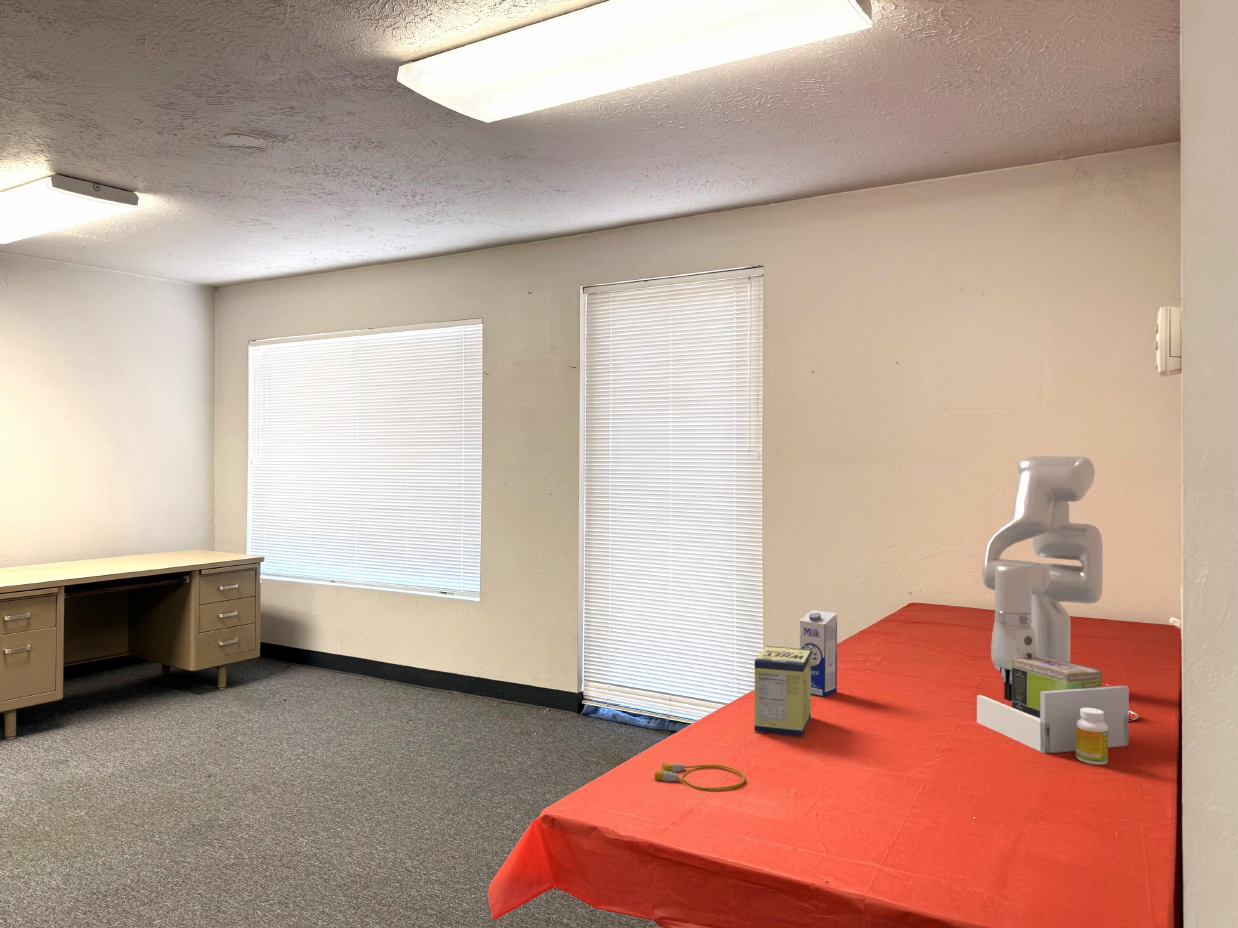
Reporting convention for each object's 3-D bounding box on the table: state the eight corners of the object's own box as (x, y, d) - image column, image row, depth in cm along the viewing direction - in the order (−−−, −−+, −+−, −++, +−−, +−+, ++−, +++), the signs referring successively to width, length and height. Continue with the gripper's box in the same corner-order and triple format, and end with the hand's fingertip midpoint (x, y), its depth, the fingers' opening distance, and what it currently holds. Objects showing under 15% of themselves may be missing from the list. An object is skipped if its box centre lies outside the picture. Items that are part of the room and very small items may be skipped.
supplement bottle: (1107, 767, 156) (1107, 716, 156) (1075, 761, 159) (1075, 711, 159) (1108, 758, 161) (1108, 709, 161) (1076, 753, 164) (1077, 704, 164)
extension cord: (680, 761, 159) (680, 751, 159) (755, 778, 151) (755, 768, 151) (647, 781, 149) (647, 770, 149) (725, 801, 140) (726, 789, 140)
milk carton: (837, 691, 207) (837, 612, 207) (824, 697, 202) (824, 616, 202) (812, 686, 212) (812, 609, 212) (798, 691, 207) (799, 612, 207)
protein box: (811, 717, 186) (811, 648, 186) (803, 738, 172) (803, 664, 172) (765, 712, 190) (765, 644, 190) (753, 732, 175) (753, 659, 175)
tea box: (1103, 740, 171) (1104, 669, 171) (1067, 745, 168) (1067, 673, 168) (1044, 719, 186) (1044, 653, 186) (1009, 723, 182) (1010, 657, 182)
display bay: (1053, 716, 188) (1054, 663, 188) (1128, 745, 168) (1128, 686, 168) (976, 722, 183) (977, 668, 183) (1044, 753, 163) (1044, 693, 163)
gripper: (1051, 624, 180) (1051, 708, 180) (1004, 612, 195) (1003, 690, 195) (1022, 626, 178) (1021, 710, 178) (976, 613, 193) (976, 692, 193)
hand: (1012, 699), depth 187 cm, fingers closed
